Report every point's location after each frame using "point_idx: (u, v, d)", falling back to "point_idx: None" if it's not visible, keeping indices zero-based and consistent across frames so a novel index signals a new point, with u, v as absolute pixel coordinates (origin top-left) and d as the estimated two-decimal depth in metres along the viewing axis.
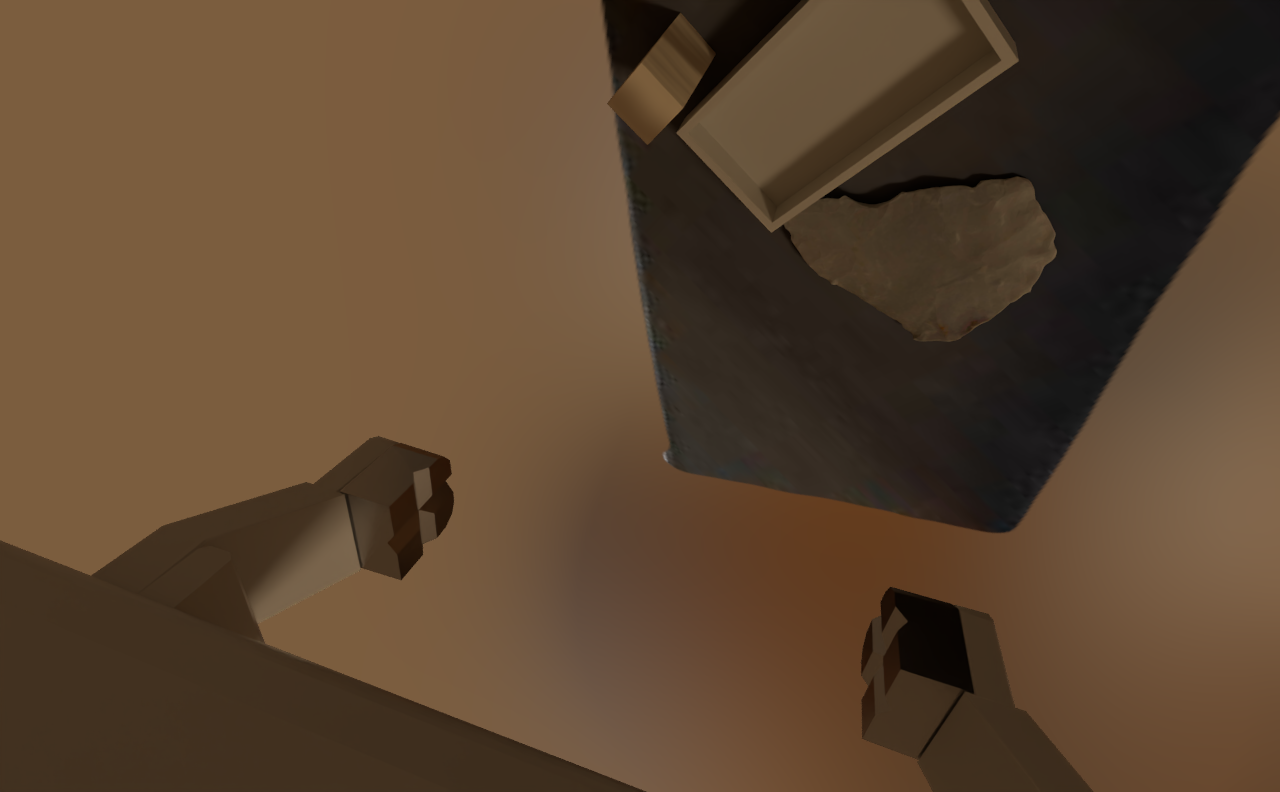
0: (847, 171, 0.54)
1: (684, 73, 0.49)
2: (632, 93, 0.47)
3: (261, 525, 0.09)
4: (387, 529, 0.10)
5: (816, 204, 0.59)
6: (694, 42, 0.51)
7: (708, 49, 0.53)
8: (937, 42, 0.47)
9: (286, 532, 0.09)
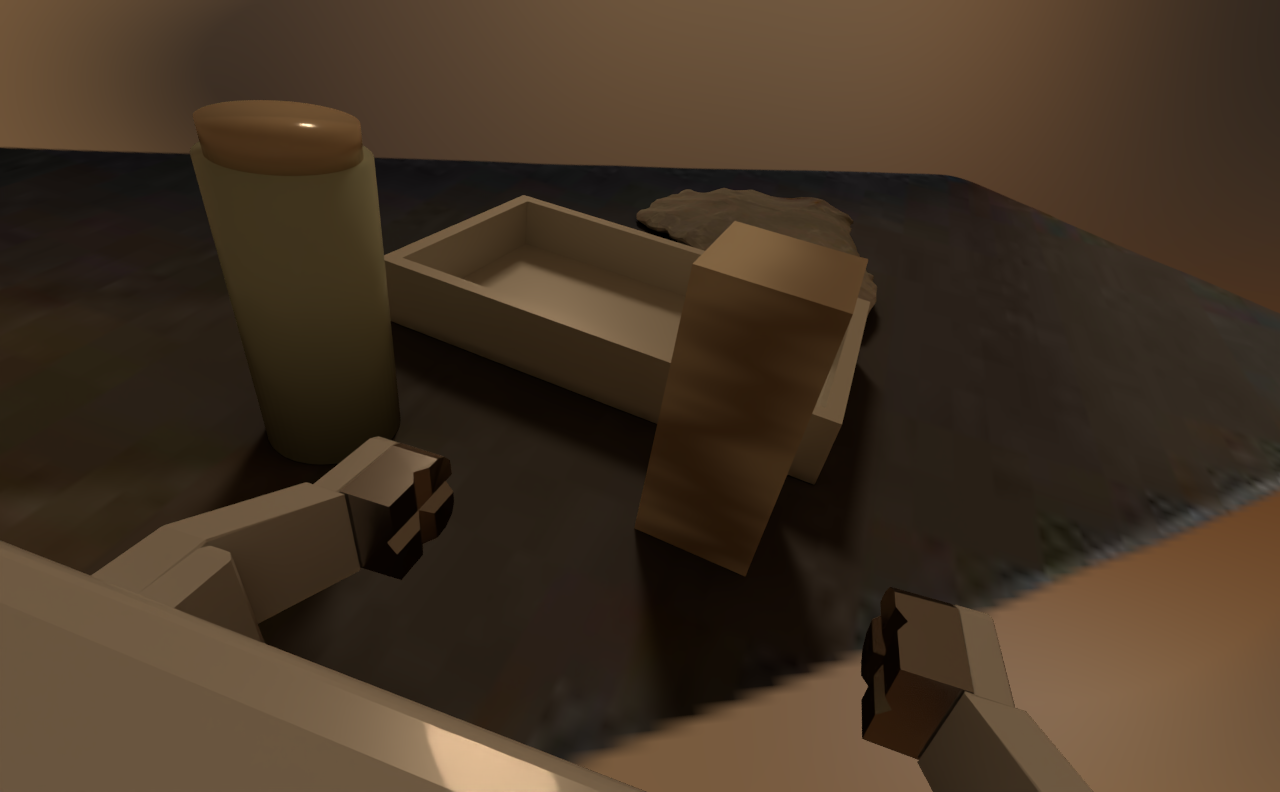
0: None
1: None
2: (777, 276, 0.17)
3: (261, 525, 0.09)
4: (387, 528, 0.10)
5: None
6: None
7: None
8: (540, 272, 0.38)
9: (286, 532, 0.09)
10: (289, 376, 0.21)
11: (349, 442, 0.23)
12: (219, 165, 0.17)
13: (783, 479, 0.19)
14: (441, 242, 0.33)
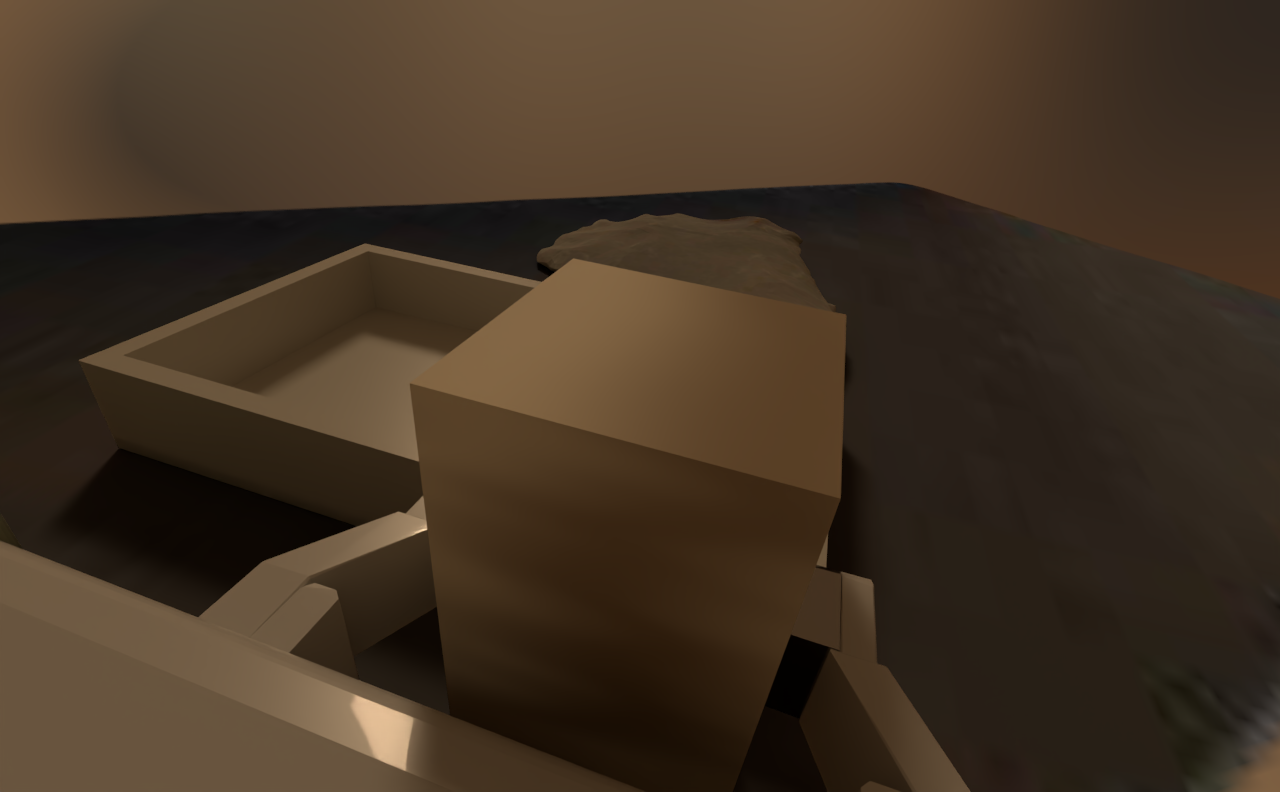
0: None
1: None
2: (637, 390, 0.07)
3: (361, 559, 0.09)
4: None
5: None
6: None
7: None
8: (388, 345, 0.28)
9: (383, 565, 0.09)
10: None
11: None
12: None
13: None
14: (207, 323, 0.22)
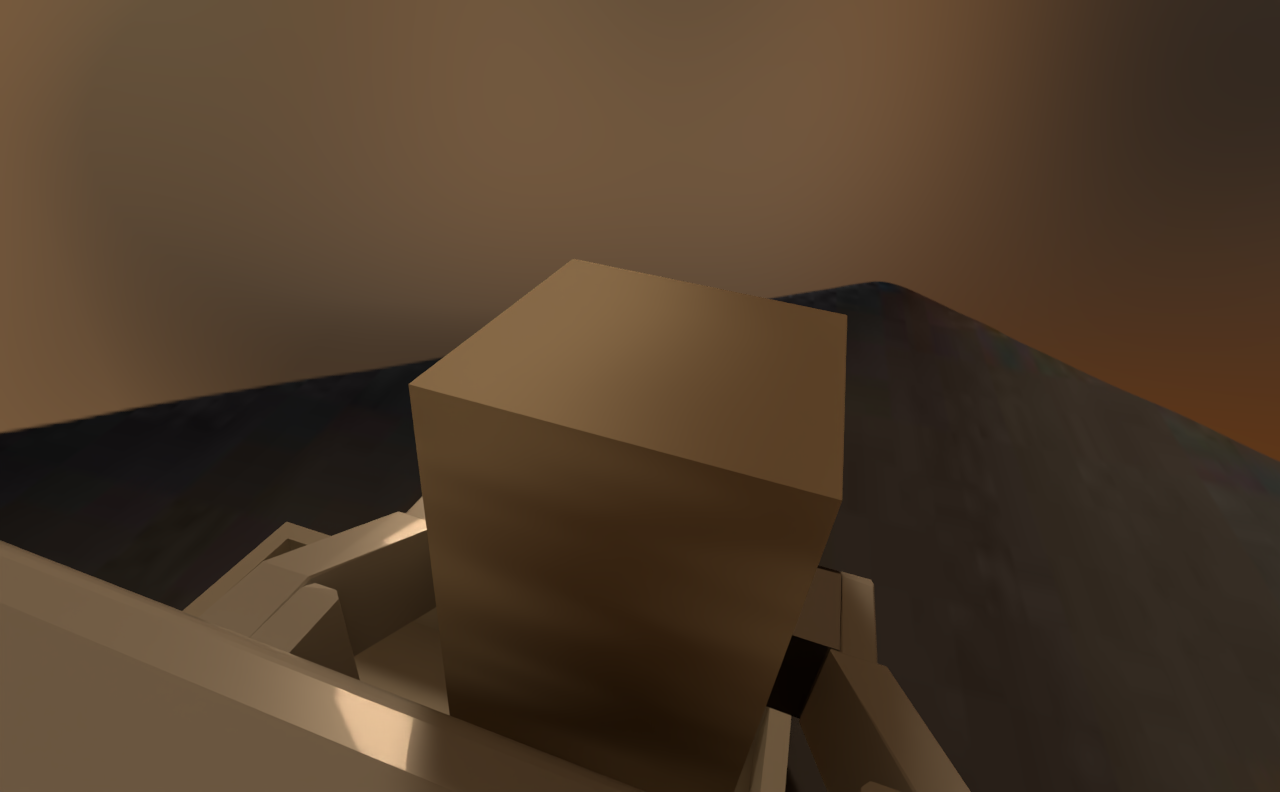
0: None
1: None
2: (638, 391, 0.07)
3: (361, 559, 0.09)
4: None
5: None
6: None
7: None
8: None
9: (383, 565, 0.09)
10: None
11: None
12: None
13: None
14: None
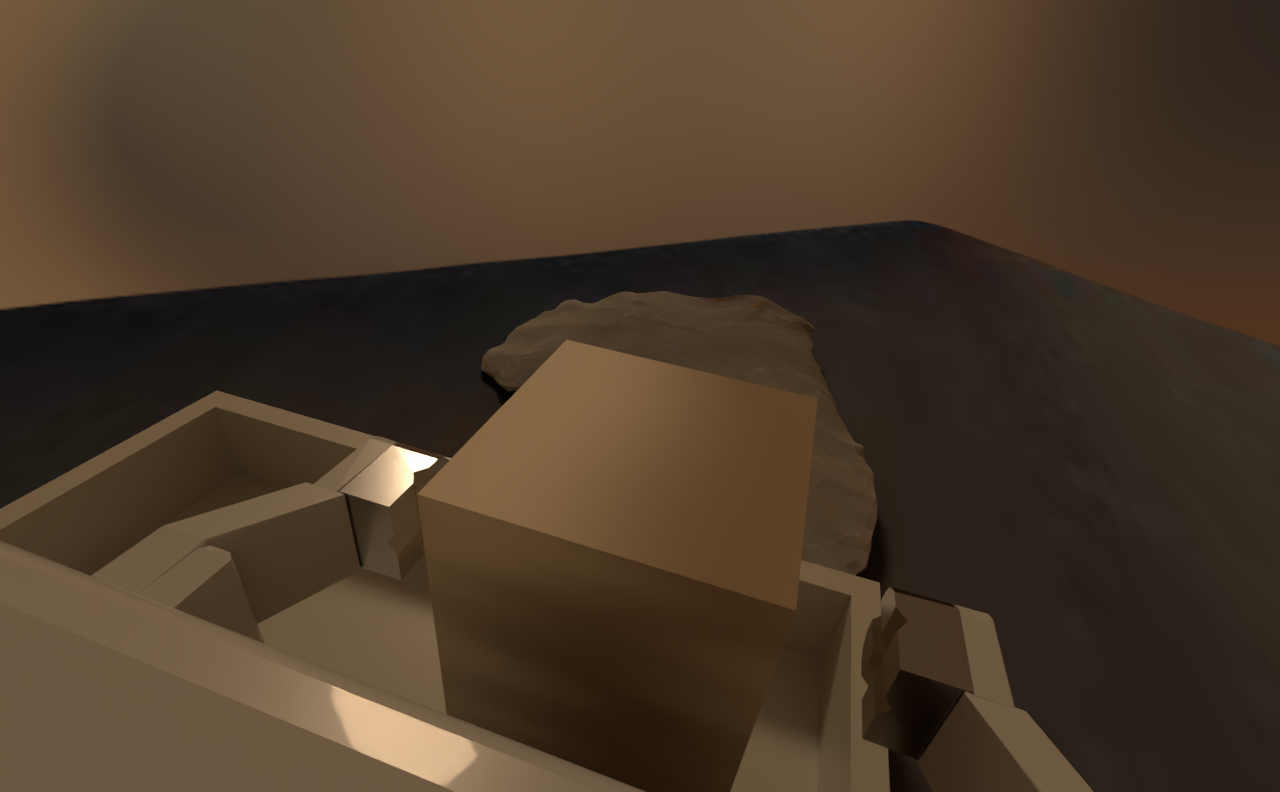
0: None
1: None
2: (620, 495, 0.07)
3: (261, 525, 0.09)
4: (387, 528, 0.10)
5: None
6: None
7: None
8: None
9: (286, 532, 0.09)
10: None
11: None
12: None
13: None
14: None
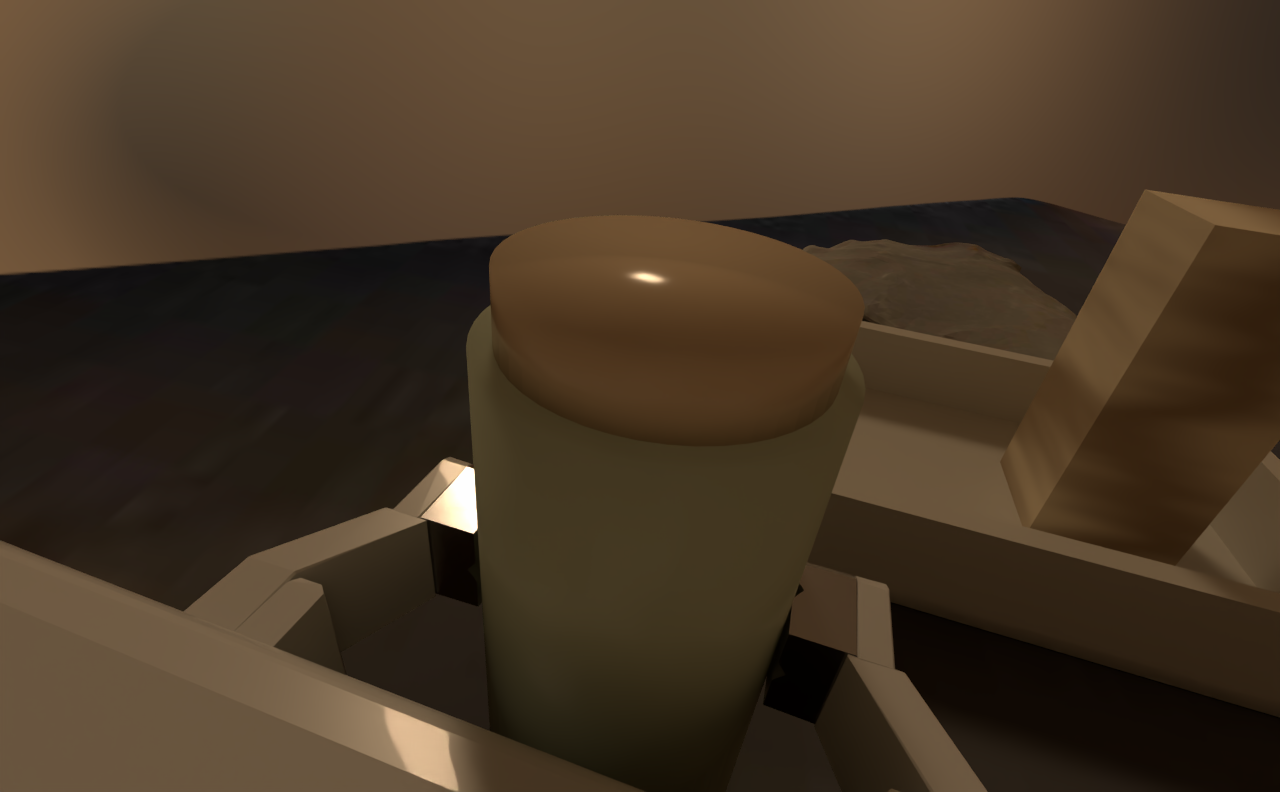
0: (976, 350, 0.27)
1: (1096, 320, 0.20)
2: None
3: (348, 554, 0.09)
4: (469, 555, 0.10)
5: None
6: (1031, 456, 0.22)
7: (1009, 460, 0.24)
8: None
9: (370, 560, 0.09)
10: None
11: None
12: (602, 433, 0.06)
13: (1263, 456, 0.18)
14: None
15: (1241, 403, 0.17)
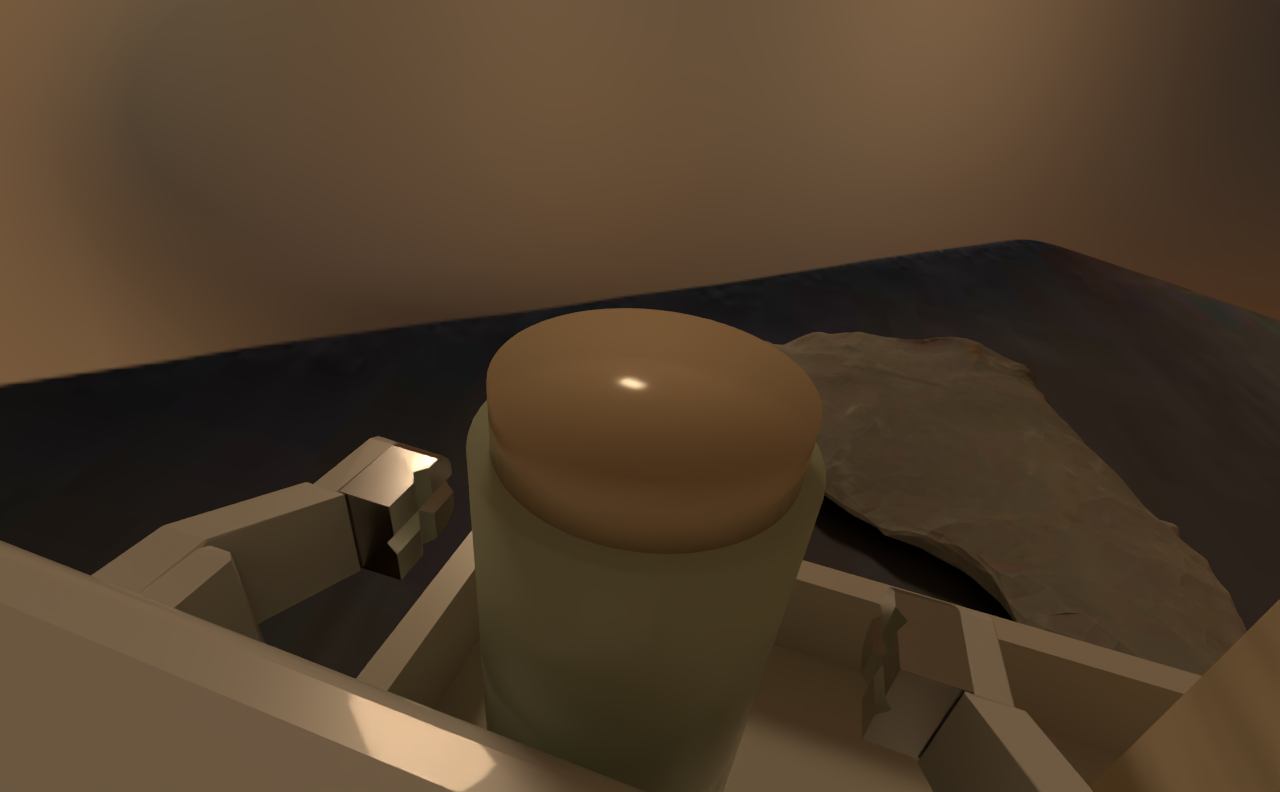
0: None
1: (1229, 767, 0.09)
2: None
3: (260, 525, 0.09)
4: (387, 528, 0.10)
5: None
6: None
7: None
8: None
9: (286, 532, 0.09)
10: None
11: None
12: (586, 542, 0.07)
13: None
14: None
15: None
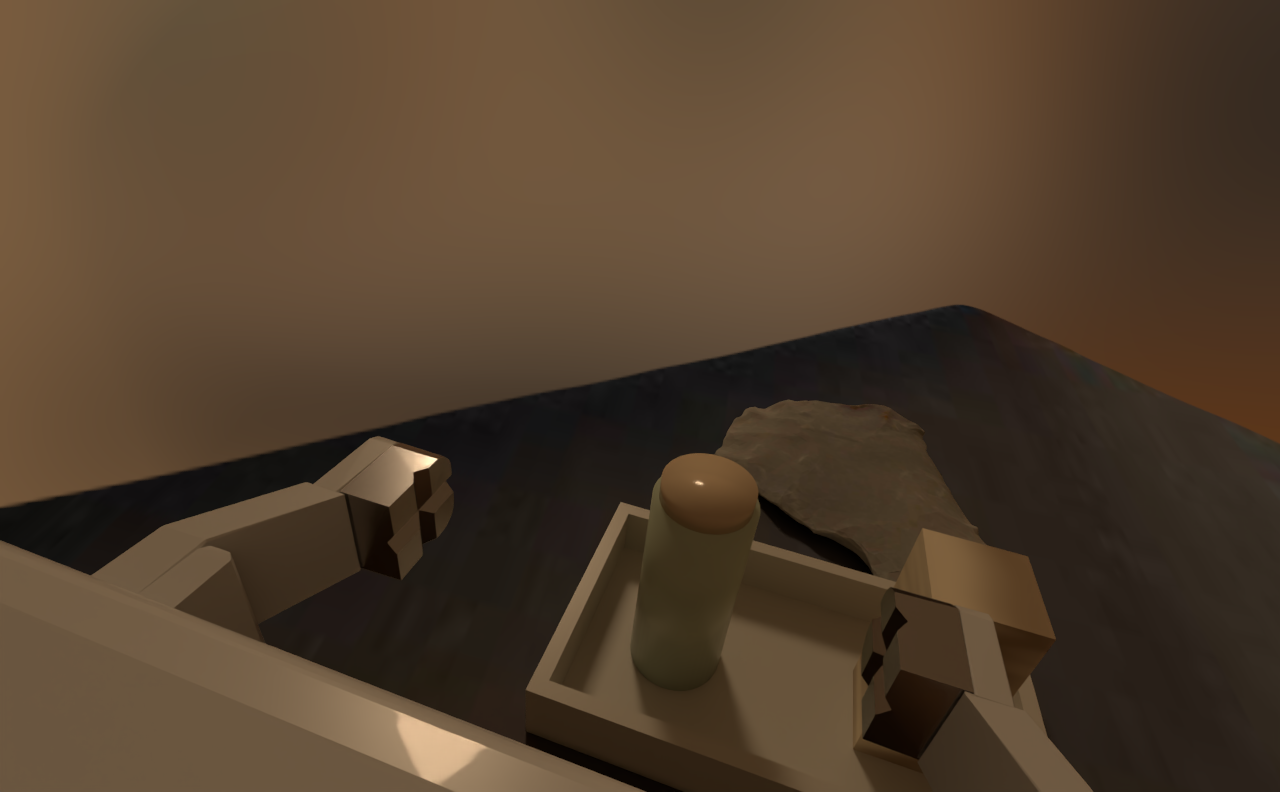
0: (843, 574, 0.35)
1: None
2: (989, 602, 0.24)
3: (261, 525, 0.09)
4: (387, 528, 0.10)
5: None
6: (863, 685, 0.31)
7: (856, 676, 0.32)
8: None
9: (286, 532, 0.09)
10: (693, 641, 0.29)
11: (709, 671, 0.31)
12: (694, 531, 0.26)
13: None
14: (574, 628, 0.31)
15: None
